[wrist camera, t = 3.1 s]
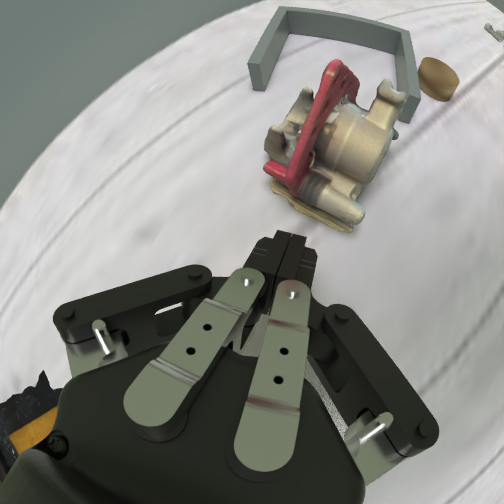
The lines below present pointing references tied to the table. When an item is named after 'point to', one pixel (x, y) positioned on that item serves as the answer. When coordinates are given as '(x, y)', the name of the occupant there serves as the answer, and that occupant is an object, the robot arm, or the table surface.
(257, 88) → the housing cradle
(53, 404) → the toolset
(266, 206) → the table surface
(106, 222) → the table surface
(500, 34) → the robot parts
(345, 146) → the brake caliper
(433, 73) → the tan rounded lump
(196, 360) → the robot arm
